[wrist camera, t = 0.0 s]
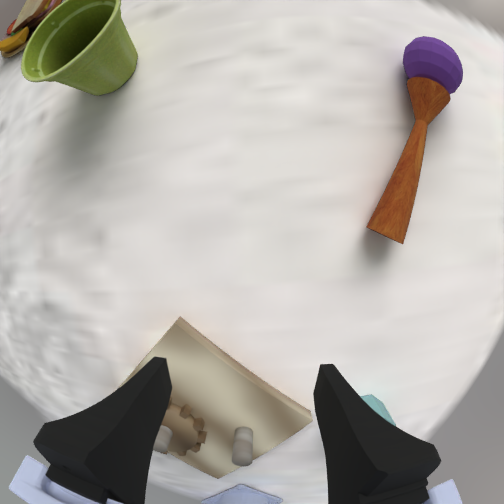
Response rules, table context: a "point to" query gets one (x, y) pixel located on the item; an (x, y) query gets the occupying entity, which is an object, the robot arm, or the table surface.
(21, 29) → the toy sandwich meal
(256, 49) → the table surface
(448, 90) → the kendama
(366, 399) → the teal faceted ring
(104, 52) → the plant pot
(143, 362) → the gear board
